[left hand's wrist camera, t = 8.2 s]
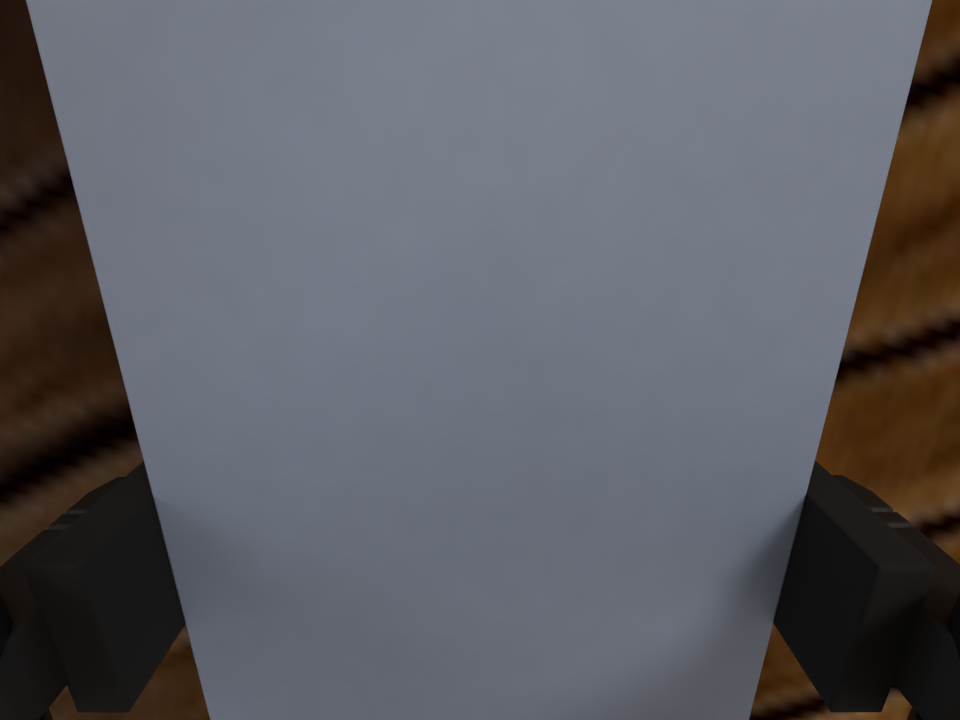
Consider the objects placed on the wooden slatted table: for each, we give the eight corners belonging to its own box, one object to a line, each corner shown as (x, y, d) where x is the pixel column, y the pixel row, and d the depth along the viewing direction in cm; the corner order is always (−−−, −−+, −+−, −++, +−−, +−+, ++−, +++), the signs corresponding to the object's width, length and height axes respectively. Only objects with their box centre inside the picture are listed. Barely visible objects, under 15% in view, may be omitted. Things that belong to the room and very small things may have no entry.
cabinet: (293, -85, 15) (-159, -709, 4) (663, -85, 15) (1115, -704, 4) (346, 444, 20) (211, 728, 10) (611, 444, 21) (748, 727, 10)
